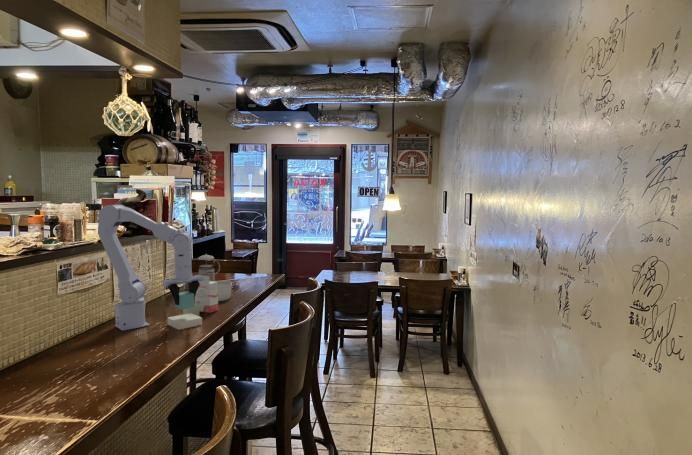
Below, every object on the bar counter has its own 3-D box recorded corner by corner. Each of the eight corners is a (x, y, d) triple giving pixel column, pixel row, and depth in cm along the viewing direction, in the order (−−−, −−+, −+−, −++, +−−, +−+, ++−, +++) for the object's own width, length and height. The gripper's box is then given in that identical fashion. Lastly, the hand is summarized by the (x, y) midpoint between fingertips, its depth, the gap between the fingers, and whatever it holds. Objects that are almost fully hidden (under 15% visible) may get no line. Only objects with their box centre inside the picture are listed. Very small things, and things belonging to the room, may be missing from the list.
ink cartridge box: (219, 310, 193) (218, 274, 192) (210, 313, 189) (209, 276, 188) (203, 307, 197) (202, 272, 196) (194, 310, 193) (193, 274, 192)
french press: (195, 283, 247) (194, 235, 245) (218, 281, 252) (217, 234, 250) (198, 287, 238) (196, 237, 236) (221, 285, 243) (220, 236, 241)
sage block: (188, 318, 182) (187, 306, 182) (183, 315, 186) (182, 304, 185) (199, 315, 185) (199, 304, 185) (194, 313, 189) (193, 302, 188)
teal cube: (180, 309, 169) (180, 295, 169) (175, 307, 173) (174, 293, 173) (194, 307, 173) (193, 293, 172) (188, 304, 176) (187, 291, 176)
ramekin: (236, 295, 219) (236, 280, 219) (226, 302, 206) (226, 286, 206) (208, 295, 221) (208, 280, 220) (196, 302, 208) (196, 286, 207)
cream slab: (178, 330, 167) (177, 322, 167) (167, 325, 174) (167, 317, 173) (202, 325, 173) (202, 317, 173) (191, 320, 180) (191, 313, 179)
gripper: (167, 269, 164) (169, 308, 165) (207, 265, 174) (208, 301, 175) (159, 267, 169) (161, 305, 170) (198, 262, 179) (199, 298, 180)
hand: (184, 303), depth 173 cm, fingers closed on teal cube, 5 cm apart
